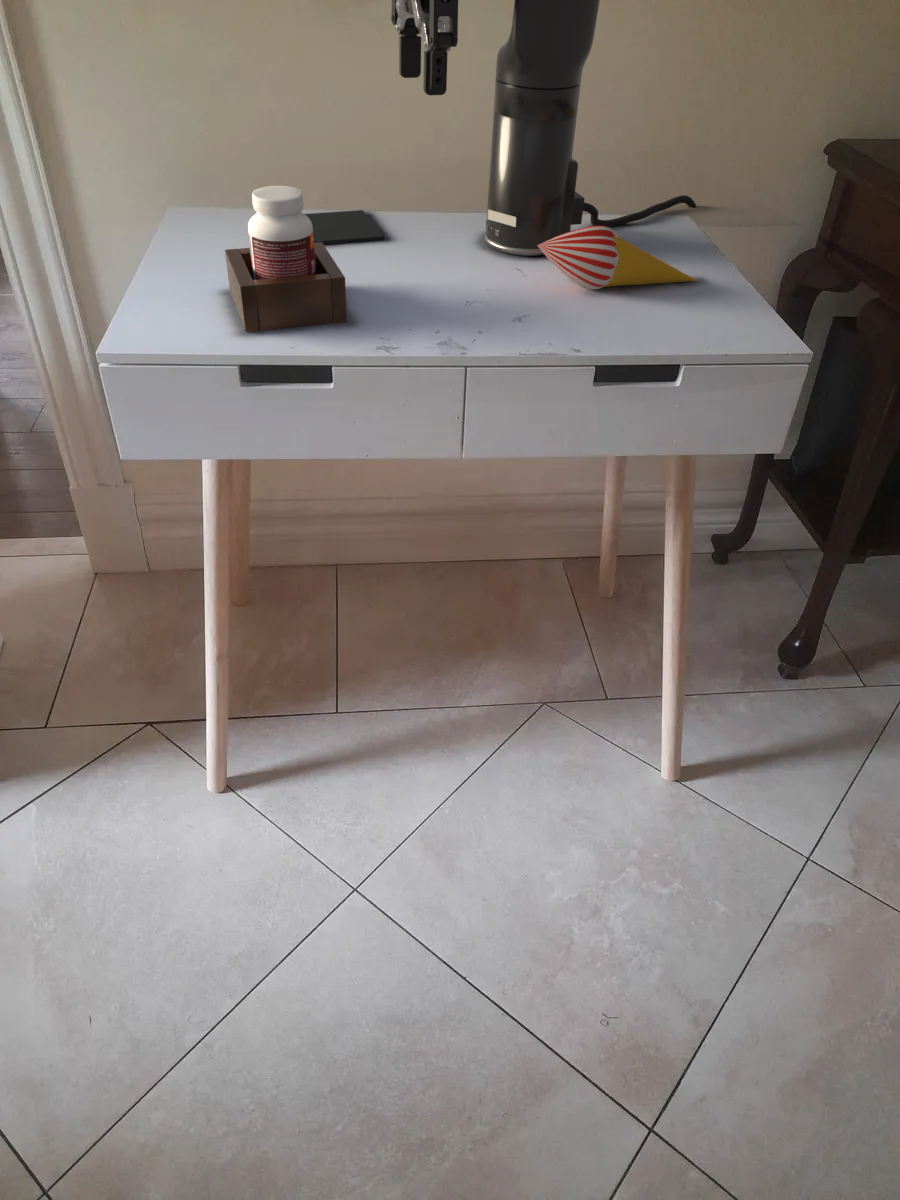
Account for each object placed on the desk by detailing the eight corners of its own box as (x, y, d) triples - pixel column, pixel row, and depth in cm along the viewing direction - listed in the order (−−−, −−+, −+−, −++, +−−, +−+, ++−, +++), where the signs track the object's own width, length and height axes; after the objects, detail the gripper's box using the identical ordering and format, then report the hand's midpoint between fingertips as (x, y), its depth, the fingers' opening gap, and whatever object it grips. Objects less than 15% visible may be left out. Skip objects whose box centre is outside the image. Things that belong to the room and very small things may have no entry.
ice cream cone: (684, 321, 102) (526, 290, 95) (677, 274, 104) (522, 240, 97) (717, 289, 96) (552, 253, 89) (710, 240, 98) (548, 201, 91)
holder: (324, 284, 95) (322, 241, 92) (347, 322, 88) (345, 277, 85) (230, 293, 92) (224, 249, 89) (245, 332, 85) (240, 286, 82)
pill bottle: (328, 312, 89) (322, 197, 82) (272, 324, 87) (260, 206, 80) (301, 291, 93) (292, 179, 86) (246, 302, 91) (233, 188, 83)
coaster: (363, 213, 113) (362, 209, 113) (384, 239, 106) (384, 236, 106) (285, 218, 111) (284, 215, 110) (301, 246, 103) (301, 242, 103)
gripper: (490, -109, 77) (479, 100, 88) (439, -118, 88) (434, 70, 98) (408, -112, 75) (407, 102, 86) (365, -120, 86) (369, 72, 96)
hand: (421, 85), depth 92 cm, fingers open, 8 cm apart
